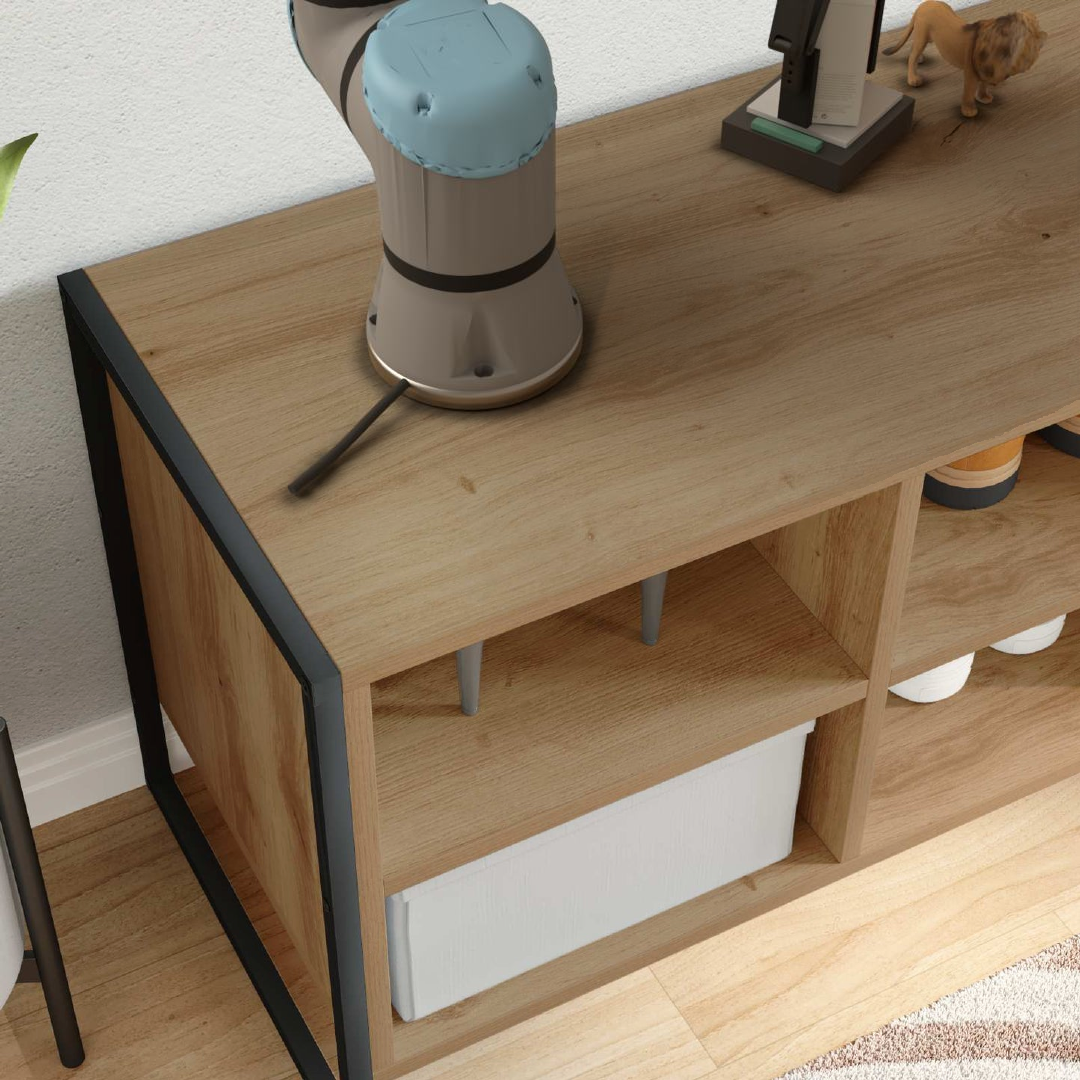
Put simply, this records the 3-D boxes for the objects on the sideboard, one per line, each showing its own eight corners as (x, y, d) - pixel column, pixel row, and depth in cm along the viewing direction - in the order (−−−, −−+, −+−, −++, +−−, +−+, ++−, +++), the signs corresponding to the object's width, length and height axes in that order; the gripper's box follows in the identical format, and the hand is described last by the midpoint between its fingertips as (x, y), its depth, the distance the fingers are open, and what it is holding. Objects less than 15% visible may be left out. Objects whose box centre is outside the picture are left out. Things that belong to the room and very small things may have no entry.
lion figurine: (1040, 111, 131) (1065, 10, 125) (1003, 135, 129) (1026, 34, 122) (898, 47, 139) (914, -50, 132) (860, 70, 136) (875, -29, 130)
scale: (837, 192, 124) (842, 158, 121) (720, 147, 128) (722, 113, 126) (911, 125, 130) (917, 92, 128) (796, 84, 135) (800, 51, 133)
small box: (858, 129, 124) (876, 5, 117) (787, 122, 125) (800, -2, 118) (864, 77, 130) (882, -46, 122) (796, 71, 131) (810, -51, 123)
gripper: (829, -121, 103) (795, 172, 120) (983, -229, 115) (933, 50, 132) (732, -149, 107) (712, 140, 123) (891, -251, 118) (854, 24, 135)
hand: (826, 93), depth 127 cm, fingers closed on small box, 9 cm apart
